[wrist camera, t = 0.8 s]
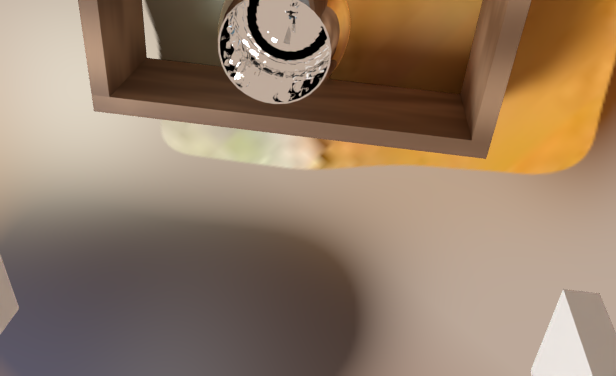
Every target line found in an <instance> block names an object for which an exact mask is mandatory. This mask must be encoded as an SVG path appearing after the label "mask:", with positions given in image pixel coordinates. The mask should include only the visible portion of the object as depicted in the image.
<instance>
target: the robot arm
mask: <svg viewBox="0 0 616 376" xmlns="http://www.w3.org/2000/svg"><path fill="white" fill-rule="evenodd" d="M18 309H19V307H18V304H17V301H16V298H15V295H14V292H13V290H12V287H11V284H10V281H9V278H8V275H7V272H6V269H5V266H4V264H3V261H2V258H1V255H0V334H1V333H2V331H3V330H4V328H5V327H6V326H7V324H8V323H9V321H10V320H11V319H12V317H13V316H14V315H15V313H16V312H17V311H18ZM531 374H532V376H616V332H615V330H614V327H613V325H612V322H611V320H610V318H609V315H608V313H607V310H606V308H605V305H604V303H603V301H602V298H601V295H600V293H592V292H583V291H574V290H565V289H563V291H562V294H561V296H560V299H559V302H558V304H557V306H556V309H555V311H554V314H553V317H552V319H551V321H550V324H549V326H548V329H547V331H546V334H545V337H544V339H543V341H542V344H541V346H540V349H539V351H538V354H537V356H536V359H535V361H534V364H533V366H532V369H531Z"/></svg>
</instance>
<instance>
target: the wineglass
mask: <svg viewBox="0 0 616 376" xmlns="http://www.w3.org/2000/svg"><path fill="white" fill-rule="evenodd" d="M350 25H351V21H350V12H349V7H348V3H347V0H225V1H224V3H223V6H222V9H221V13H220V18H219V24H218V37H217V39H218V53H219V57H220V61H221V65H222V67H223V69H224V71H225V73H226V75H227V76H228V78H229V79H230V80H231V82H232V83H233V84H234V85H235V86H236V87H237V88H238V89H239V90H241V91H242V92H243V93H245V94H246V95H248V96H250V97H252V98H254V99H256V100H259V101H262V102H265V103H272V104H287V103H291V102H295V101H299V100H301V99H303V98H305V97H306V96H308V95H310V94H311V93H312V92H314V91H315V90H316V89H318V88H319V87H320V86H321V85H322V84H323V83H324V82H325V81H326V80H327V79H328V78H329V77H330V76H331V74H332V73H333V72H334V70H335V69H336V68H337V66H338V64H339V63H340V61H341V59H342V57H343V55H344V53H345V50H346V47H347V44H348V40H349V34H350Z"/></svg>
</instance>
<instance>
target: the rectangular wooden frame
mask: <svg viewBox="0 0 616 376" xmlns="http://www.w3.org/2000/svg"><path fill="white" fill-rule="evenodd" d="M78 3H79V10H80V17H81V24H82V31H83V38H84V45H85V52H86V58H87V65H88V72H89V79H90V86H91V93H92V100H93V106H94V111H98V112H106V113H115V114H123V115H130V116H138V117H147V118H155V119H163V120H171V121H180V122H188V123H196V124H204V125H212V126H221V127H229V128H237V129H245V130H254V131H262V132H270V133H278V134H287V135H295V136H303V137H311V138H319V139H328V140H336V141H344V142H352V143H361V144H369V145H377V146H385V147H393V148H402V149H410V150H418V151H426V152H435V153H443V154H451V155H459V156H468V157H476V158H484V159H486V157H487V154H488V150H489V147H490V143H491V140H492V136H493V133H494V129H495V126H496V122H497V119H498V115H499V112H500V108H501V105H502V101H503V98H504V94H505V91H506V87H507V84H508V80H509V77H510V73H511V70H512V66H513V63H514V59H515V56H516V52H517V49H518V45H519V42H520V38H521V35H522V31H523V28H524V24H525V21H526V18H527V14H528V11H529V7H530V4H531V0H483V2H482V6H481V10H480V14H479V18H478V23H477V27H476V31H475V35H474V39H473V43H472V48H471V52H470V56H469V60H468V64H467V68H466V72H465V77H464V81H463V85H462V89H461V93H460V94H453V93H445V92H436V91H428V90H419V89H410V88H402V87H393V86H384V85H376V84H367V83H359V82H350V81H341V80H333V79H327V80H326V81H325V82H324V83H323V84H322V85H321V86H320V87H319V88H318V89H316V90H315V91H314V92H312V93H311V94H310V95H308V96H306V97H305V98H303V99H301V100H299V101H295V102H291V103H287V104H272V103H265V102H262V101H259V100H256V99H254V98H252V97H250V96H248V95H246V94H245V93H243V92H242V91H241V90H239V89H238V88H237V87H236V86H235V85H234V84H233V83H232V82H231V80H230V79H229V78H228V76H227V75H226V73H225V71H224V69H223V67H220V66H212V65H203V64H195V63H186V62H177V61H169V60H160V59H150V58H147V57H146V45H145V33H144V22H143V11H142V10H143V9H142V0H78Z"/></svg>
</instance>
